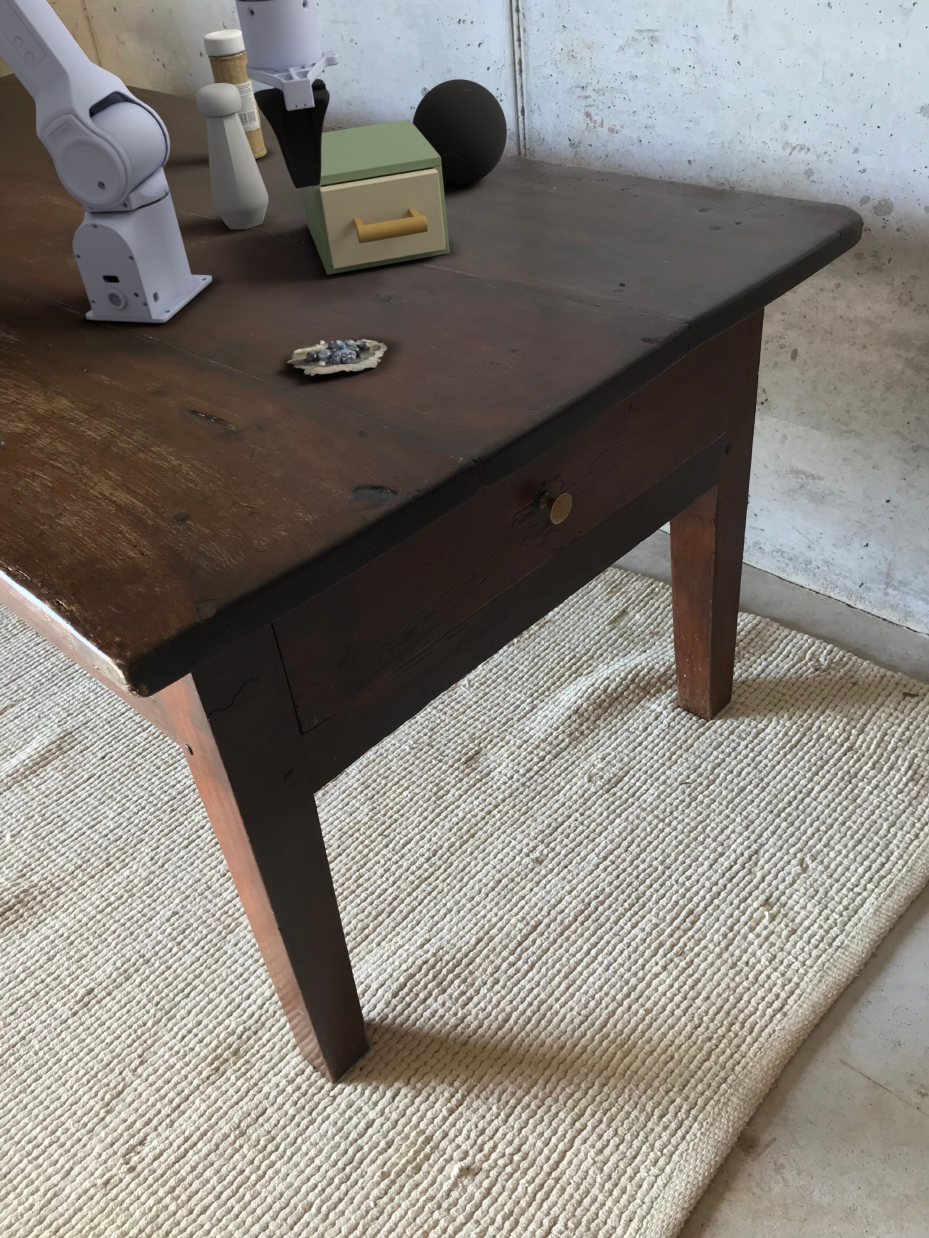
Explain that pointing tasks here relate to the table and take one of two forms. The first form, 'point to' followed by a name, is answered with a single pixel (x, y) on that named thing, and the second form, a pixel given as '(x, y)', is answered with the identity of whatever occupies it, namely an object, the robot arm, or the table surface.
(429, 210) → the drawer
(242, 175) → the salt shaker
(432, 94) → the black sphere
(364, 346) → the blueberries
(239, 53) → the sprinkles bottle
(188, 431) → the table surface
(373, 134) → the cabinet
